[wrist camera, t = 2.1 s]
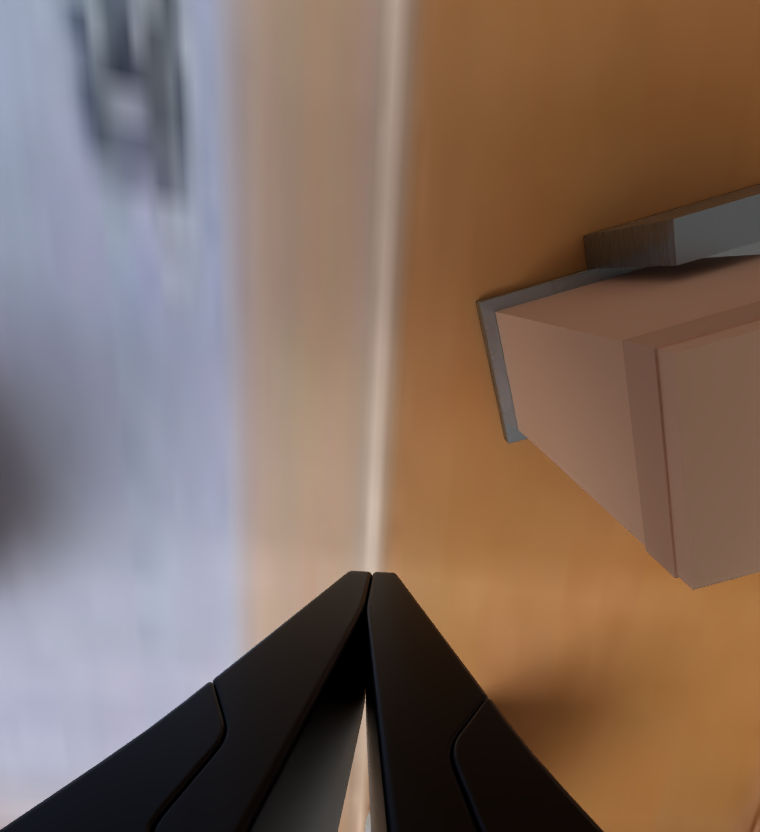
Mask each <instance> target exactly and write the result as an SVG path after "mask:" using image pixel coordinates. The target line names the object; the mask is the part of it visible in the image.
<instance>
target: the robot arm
mask: <svg viewBox="0 0 760 832" xmlns="http://www.w3.org/2000/svg"><path fill="white" fill-rule="evenodd" d="M365 695H366V728H367V751H368V774H369V797H370V820H371V832H604V831H603V830H602V829H601V828H600V827H599V826H598V825H597V824H596V823H595V822H594V821H593V820H592V818H591V817H590V816H589V815H588V814H587V813H586V812H585V811H584V810H583V809H582V808H581V807H580V805H579V804H578V803H577V802H576V801H575V800H574V799H573V798H572V797H571V796H570V795H569V793H568V792H567V791H566V790H565V789H564V788H563V787H562V786H561V784H560V783H559V782H558V781H557V780H556V779H555V778H554V776H553V775H552V774H551V773H550V772H549V771H548V770H547V769H546V767H545V766H544V765H543V764H542V763H541V762H540V761H539V760H538V758H537V757H536V756H535V755H534V754H533V753H532V751H531V750H530V749H529V748H528V746H527V745H526V744H525V743H524V741H523V740H522V739H521V738H520V736H519V735H518V734H517V733H516V731H515V730H514V729H513V728H512V726H511V725H510V724H509V723H508V721H507V720H506V719H505V717H504V716H503V715H502V713H501V712H500V711H499V709H498V708H497V707H496V705H495V704H494V703H493V701H492V700H491V699H488V696H487V695H486V693H485V692H484V691H483V689H482V688H481V687H480V685H479V684H478V683H477V681H476V680H475V679H474V677H473V676H472V675H471V673H470V672H469V671H468V669H467V668H466V667H465V665H464V664H463V663H462V661H461V660H460V659H459V657H458V656H457V655H456V653H455V652H454V651H453V649H452V648H451V647H450V645H449V644H448V643H447V641H446V640H445V639H444V637H443V636H442V635H441V633H440V632H439V631H438V629H437V628H436V627H435V625H434V624H433V623H432V621H431V620H430V619H429V617H428V616H427V615H426V613H425V612H424V611H423V609H422V608H421V607H420V605H419V604H418V603H417V601H416V600H415V599H414V597H413V596H412V595H411V593H410V592H409V591H408V589H407V588H406V587H405V585H404V584H403V583H402V581H401V580H400V579H399V577H398V576H397V575H396V574H395V573H387V572H375V573H374V574H373V575H372V574H371V573H370V572H364V571H350V572H348V573H346V574H345V575H344V576H343V577H341V578H340V579H339V580H338V581H336V582H335V583H334V584H333V585H331V586H330V587H329V588H328V589H326V590H325V591H324V592H323V593H321V594H320V595H319V596H318V597H316V598H315V599H314V600H313V601H311V602H310V603H309V604H308V605H306V606H305V607H304V608H303V609H301V610H300V611H299V612H297V613H296V614H295V615H294V616H292V617H291V618H290V619H289V620H287V621H286V622H285V623H284V624H282V625H281V626H280V627H279V628H277V629H276V630H275V631H274V632H272V633H271V634H270V635H269V636H267V637H266V638H265V639H264V640H262V641H261V642H260V643H259V644H257V645H256V646H255V647H254V648H252V649H251V650H250V651H249V652H247V653H246V654H245V655H244V656H242V657H241V658H240V659H239V660H237V661H236V662H235V663H234V664H232V665H231V666H230V667H229V668H227V669H226V670H225V671H224V672H222V673H221V674H220V675H219V676H217V677H216V678H215V679H214V680H213V683H212V682H209V683H207V684H206V685H205V686H203V687H202V688H201V689H200V690H198V691H197V692H196V693H194V694H193V695H192V696H191V697H189V698H188V699H187V700H186V701H184V702H183V703H182V704H180V705H179V706H178V707H176V708H175V709H174V710H172V711H171V712H170V713H168V714H167V715H166V716H165V717H163V718H162V719H161V720H159V721H158V722H157V723H155V724H154V725H153V726H151V727H150V728H149V729H147V730H146V731H145V732H143V733H142V734H140V735H139V736H137V737H136V738H135V739H133V740H132V741H130V742H129V743H127V744H126V745H125V746H123V747H122V748H120V749H119V750H117V751H116V752H115V753H113V754H112V755H110V756H109V757H107V758H106V759H104V760H103V761H102V762H100V763H99V764H97V765H96V766H94V767H93V768H91V769H90V770H88V771H87V772H86V773H84V774H83V775H81V776H80V777H78V778H77V779H75V780H74V781H72V782H71V783H69V784H68V785H66V786H65V787H63V788H62V789H60V790H59V791H57V792H56V793H54V794H53V795H51V796H50V797H48V798H47V799H45V800H44V801H43V802H41V803H40V804H38V805H37V806H35V807H34V808H32V809H31V810H29V811H28V812H26V813H25V814H23V815H22V816H20V817H19V818H17V819H16V820H14V821H13V822H11V823H10V824H8V825H7V826H5V827H4V828H3V829H1V830H0V832H338V827H339V823H340V818H341V813H342V809H343V804H344V799H345V795H346V790H347V785H348V780H349V776H350V771H351V766H352V762H353V757H354V752H355V748H356V743H357V738H358V734H359V729H360V724H361V720H362V714H363V709H364V703H365Z"/></svg>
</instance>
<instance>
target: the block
mask: <svg viewBox="0 0 760 832" xmlns="http://www.w3.org/2000/svg"><path fill="white" fill-rule="evenodd" d="M495 314H496V319H497V324H498V329H499V334H500V339H501V344H502V349H503V354H504V359H505V364H506V369H507V374H508V379H509V384H510V390H511V395H512V400H513V405H514V410H515V415H516V420H517V425H518V430H519V431H520V432H521V433H522V434H523V435H525V436H526V437H527V438H528V439H529V440H530V441H531V442H532V443H533V444H534V445H535V446H537V447H538V448H539V449H540V450H541V451H542V452H543V453H544V454H545V455H546V456H547V457H549V458H550V459H551V460H552V461H553V462H554V463H555V464H556V465H557V466H558V467H559V468H561V469H562V470H563V471H564V472H565V473H566V474H567V475H568V476H569V477H570V478H571V479H573V480H574V481H575V482H576V483H577V484H578V485H579V486H580V487H581V488H582V489H583V490H584V491H586V492H587V493H588V494H589V495H590V496H591V497H592V498H593V499H594V500H595V501H596V502H598V503H599V504H600V505H601V506H602V507H603V508H604V509H605V510H606V511H607V512H608V513H610V514H611V515H612V516H613V517H614V518H615V519H616V520H617V521H618V522H619V523H620V524H622V525H623V526H624V527H625V528H626V529H627V530H628V531H629V532H630V533H631V534H632V535H634V536H635V537H636V538H637V539H638V540H639V541H640V542H641V543H642V544H643V545H644V546H645V548H646V551H647V552H648V553H649V554H650V555H651V556H652V557H653V558H654V559H655V560H656V561H657V562H658V563H659V564H660V565H662V566H663V567H664V568H665V569H666V570H667V571H668V572H669V573H670V574H671V575H672V576H673V577H674V578H678V577H679V578H680V579H682V580H683V581H684V582H685V583H686V584H687V585H688V586H689V587H690V588H691V589H692V590H694V589H698V588H701V587H705V586H709V585H712V584H716V583H720V582H724V581H727V580H731V579H735V578H738V577H742V576H746V575H749V574H753V573H757V572H760V254H758V255H741V256H724V257H708V258H701V259H697V260H694V261H691V262H687V263H684V264H680V265H677V266H653V267H647V268H643V269H640V270H636V271H633V272H629V273H626V274H623V275H619V276H616V277H612V278H609V279H606V280H602V281H599V282H595V283H592V284H588V285H585V286H582V287H578V288H575V289H571V290H568V291H564V292H561V293H558V294H554V295H551V296H547V297H544V298H540V299H537V300H534V301H530V302H527V303H523V304H520V305H516V306H513V307H510V308H506V309H503V310H499V311H496V312H495Z"/></svg>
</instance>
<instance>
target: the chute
mask: <svg viewBox="0 0 760 832" xmlns="http://www.w3.org/2000/svg"><path fill="white" fill-rule="evenodd" d="M584 244H585V251H586V259H587V267H588V269H587V270H583V271H580V272H576V273H573V274H569V275H566V276H563V277H559V278H556V279H552V280H549V281H546V282H542V283H539V284H535V285H532V286H529V287H525V288H522V289H518V290H515V291H511V292H508V293H505V294H501V295H498V296H494V297H491V298H488V299H484V300H481V301H477V302H476V304H477V309H478V314H479V319H480V323H481V328H482V333H483V338H484V342H485V347H486V352H487V357H488V362H489V366H490V371H491V376H492V381H493V385H494V390H495V395H496V400H497V405H498V409H499V414H500V419H501V424H502V429H503V433H504V438H505V440H506V441H507V442H508V444H509V443H513V442H516V441H520V440H523V439H527V437H526V436H525V435H523V434H522V433H521V432H520V431H519V430H518V425H517V420H516V415H515V410H514V405H513V400H512V395H511V390H510V384H509V379H508V374H507V369H506V364H505V359H504V354H503V349H502V344H501V339H500V334H499V329H498V324H497V319H496V314H495V312H496V311H499V310H503V309H506V308H510V307H513V306H516V305H520V304H523V303H527V302H530V301H534V300H537V299H540V298H544V297H547V296H551V295H554V294H558V293H561V292H564V291H568V290H571V289H575V288H578V287H582V286H585V285H588V284H592V283H595V282H599V281H602V280H606V279H609V278H612V277H616V276H619V275H623V274H626V273H629V272H633V271H636V270H640V269H643V268H647V267H653V266H677V265H680V264H684V263H687V262H691V261H694V260H697V259H701V258H708V257H724V256H741V255H758V254H760V184H757V185H754V186H751V187H747V188H744V189H741V190H737V191H734V192H730V193H727V194H724V195H720V196H717V197H713V198H710V199H707V200H703V201H700V202H696V203H693V204H690V205H686V206H683V207H680V208H676V209H673V210H669V211H666V212H663V213H659V214H656V215H652V216H649V217H646V218H642V219H639V220H635V221H632V222H629V223H625V224H622V225H619V226H615V227H612V228H608V229H605V230H602V231H598V232H595V233H591V234H588V235H585V236H584Z"/></svg>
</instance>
